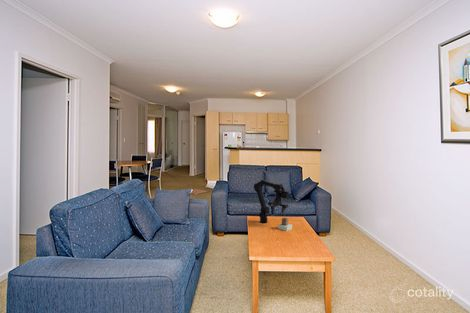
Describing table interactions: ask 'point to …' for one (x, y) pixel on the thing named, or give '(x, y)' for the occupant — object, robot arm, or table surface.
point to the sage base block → (285, 227)
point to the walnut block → (285, 221)
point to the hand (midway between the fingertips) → (277, 213)
